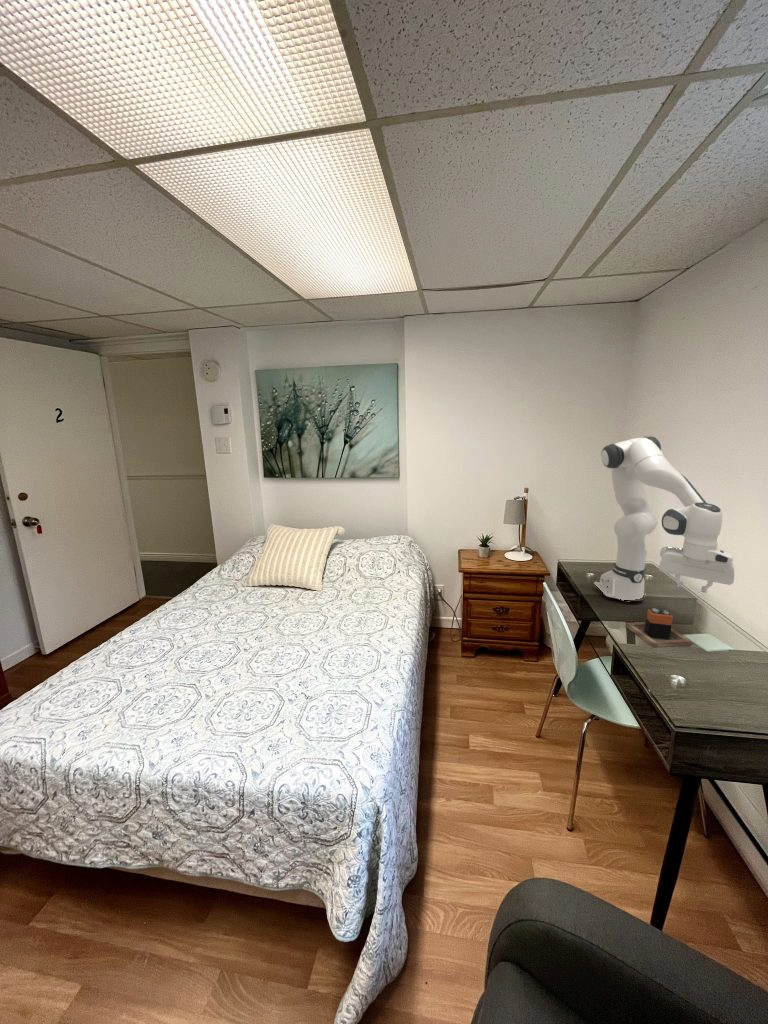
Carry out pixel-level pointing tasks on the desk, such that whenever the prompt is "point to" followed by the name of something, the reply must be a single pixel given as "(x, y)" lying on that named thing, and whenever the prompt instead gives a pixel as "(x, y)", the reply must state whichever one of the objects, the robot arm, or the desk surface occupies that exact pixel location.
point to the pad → (708, 642)
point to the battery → (658, 623)
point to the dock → (664, 643)
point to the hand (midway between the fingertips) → (691, 589)
